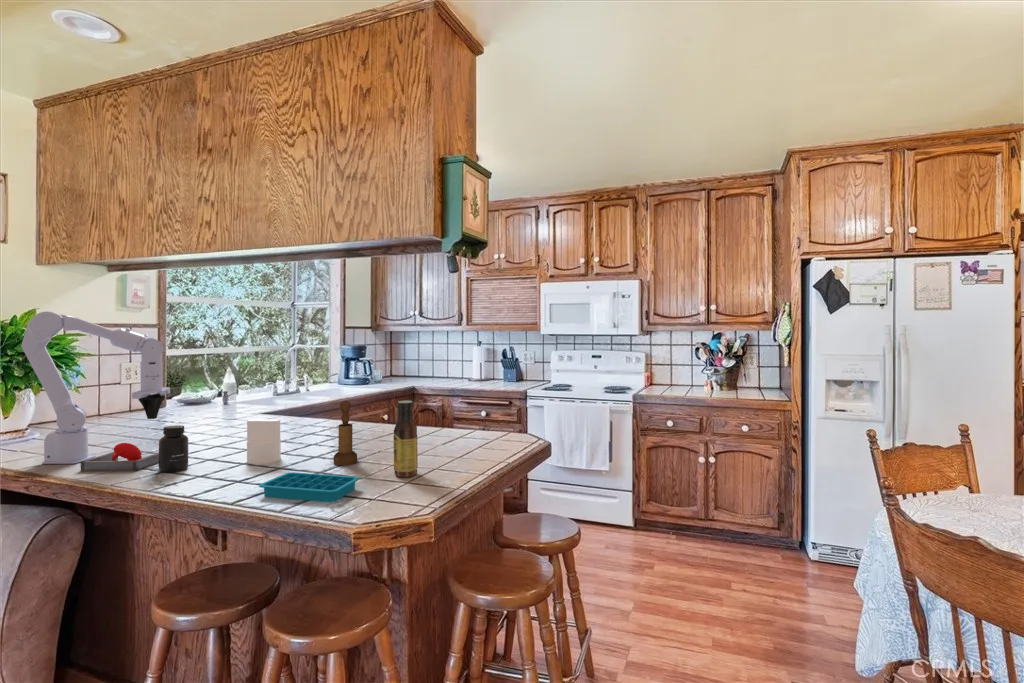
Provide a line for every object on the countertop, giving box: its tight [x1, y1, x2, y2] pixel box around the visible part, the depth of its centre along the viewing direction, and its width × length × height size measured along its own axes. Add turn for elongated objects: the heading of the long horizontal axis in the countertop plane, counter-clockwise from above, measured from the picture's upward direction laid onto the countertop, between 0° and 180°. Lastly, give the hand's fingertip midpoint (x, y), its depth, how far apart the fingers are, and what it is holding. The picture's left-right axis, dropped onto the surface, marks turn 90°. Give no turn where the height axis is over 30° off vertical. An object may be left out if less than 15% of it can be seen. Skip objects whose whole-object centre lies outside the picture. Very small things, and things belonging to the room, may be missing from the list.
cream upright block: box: [246, 418, 282, 465], centre depth 148 cm, size 9×9×12 cm
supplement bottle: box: [158, 424, 189, 474], centre depth 138 cm, size 7×7×12 cm
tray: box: [80, 451, 159, 472], centre depth 143 cm, size 15×12×2 cm
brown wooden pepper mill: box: [333, 400, 358, 466], centre depth 146 cm, size 7×6×18 cm
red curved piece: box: [112, 442, 142, 461], centre depth 144 cm, size 8×6×6 cm
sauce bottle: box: [393, 400, 419, 478], centre depth 133 cm, size 6×6×20 cm
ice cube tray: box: [258, 471, 360, 503], centre depth 119 cm, size 12×20×3 cm, turn 78°
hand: (152, 418), depth 159 cm, fingers closed
